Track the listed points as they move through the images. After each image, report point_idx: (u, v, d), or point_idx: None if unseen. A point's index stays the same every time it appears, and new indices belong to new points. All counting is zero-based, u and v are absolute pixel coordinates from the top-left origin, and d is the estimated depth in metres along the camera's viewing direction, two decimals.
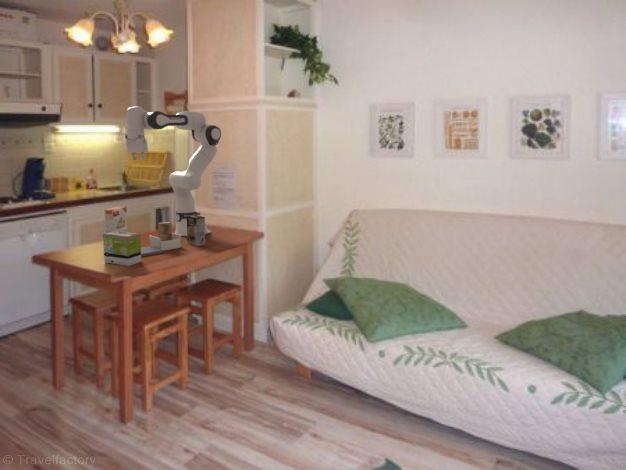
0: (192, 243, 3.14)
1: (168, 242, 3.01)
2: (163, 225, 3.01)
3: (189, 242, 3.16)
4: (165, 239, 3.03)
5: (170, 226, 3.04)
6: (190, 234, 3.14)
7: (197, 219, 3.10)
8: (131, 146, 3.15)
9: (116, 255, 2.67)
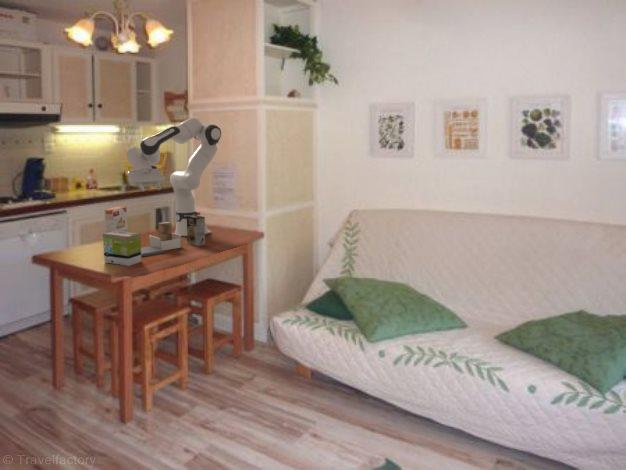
0: (192, 243, 3.14)
1: (168, 242, 3.01)
2: (163, 225, 3.01)
3: (189, 242, 3.16)
4: (165, 239, 3.03)
5: (170, 226, 3.04)
6: (190, 233, 3.14)
7: (197, 219, 3.10)
8: None
9: (116, 255, 2.67)
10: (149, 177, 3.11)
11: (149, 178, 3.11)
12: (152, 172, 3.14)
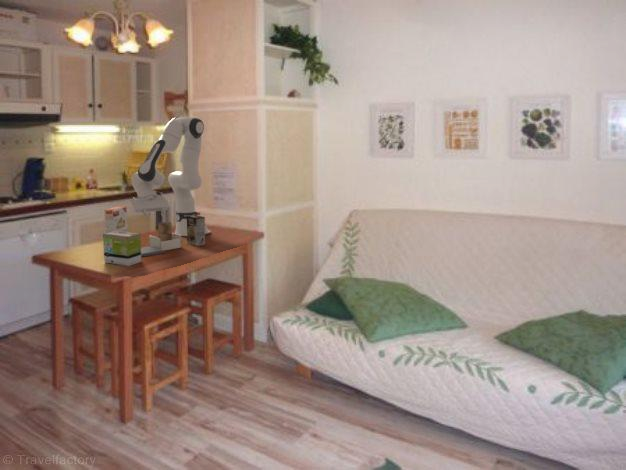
0: (192, 243, 3.14)
1: (168, 242, 3.01)
2: (163, 225, 3.01)
3: (189, 242, 3.16)
4: (165, 239, 3.03)
5: (170, 226, 3.04)
6: (190, 234, 3.14)
7: (197, 219, 3.10)
8: None
9: (116, 255, 2.67)
10: (154, 203, 3.11)
11: (154, 205, 3.10)
12: (157, 198, 3.14)
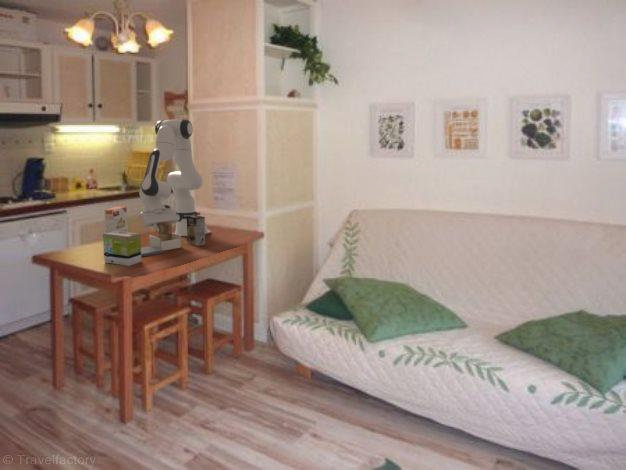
0: (192, 243, 3.14)
1: (168, 242, 3.01)
2: (163, 225, 3.01)
3: (189, 242, 3.16)
4: (165, 239, 3.03)
5: (170, 226, 3.04)
6: (190, 234, 3.14)
7: (197, 219, 3.10)
8: None
9: (116, 255, 2.67)
10: (163, 217, 3.06)
11: (163, 219, 3.06)
12: (165, 212, 3.09)
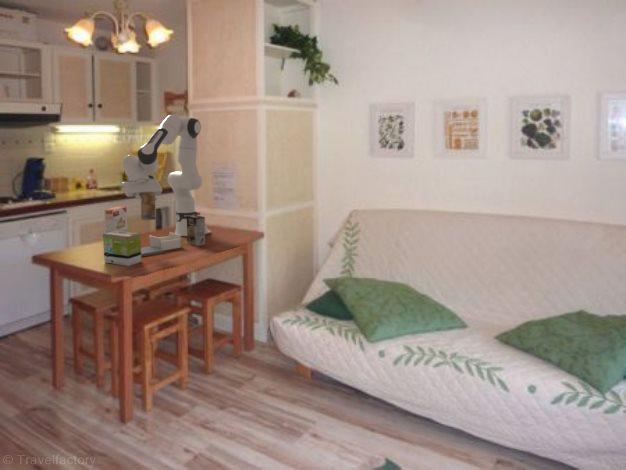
0: (192, 243, 3.14)
1: (168, 242, 3.01)
2: (146, 195, 2.88)
3: (189, 242, 3.16)
4: (148, 210, 2.90)
5: (153, 196, 2.91)
6: (190, 234, 3.14)
7: (197, 219, 3.10)
8: None
9: (116, 255, 2.67)
10: (146, 187, 2.93)
11: (146, 189, 2.92)
12: (149, 182, 2.96)
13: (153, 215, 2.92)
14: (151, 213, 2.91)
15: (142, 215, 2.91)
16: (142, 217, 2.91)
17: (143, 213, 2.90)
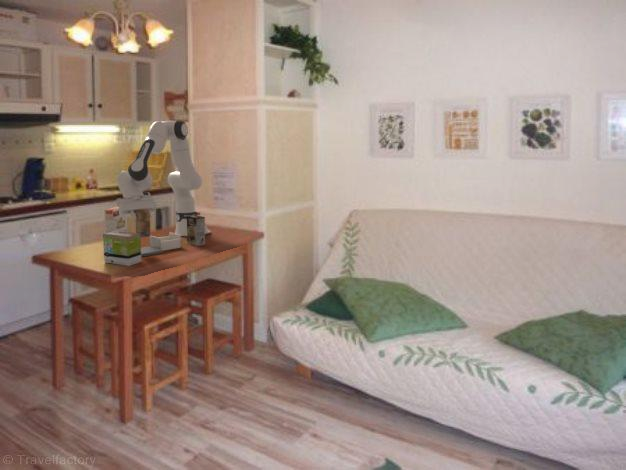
0: (192, 243, 3.14)
1: (168, 242, 3.01)
2: (140, 212, 2.86)
3: (189, 242, 3.16)
4: (142, 227, 2.88)
5: (148, 213, 2.89)
6: (190, 234, 3.14)
7: (197, 219, 3.10)
8: None
9: (116, 255, 2.67)
10: (140, 204, 2.91)
11: (141, 206, 2.91)
12: (144, 199, 2.94)
13: (148, 232, 2.91)
14: (145, 231, 2.90)
15: (137, 232, 2.89)
16: None
17: (138, 230, 2.88)
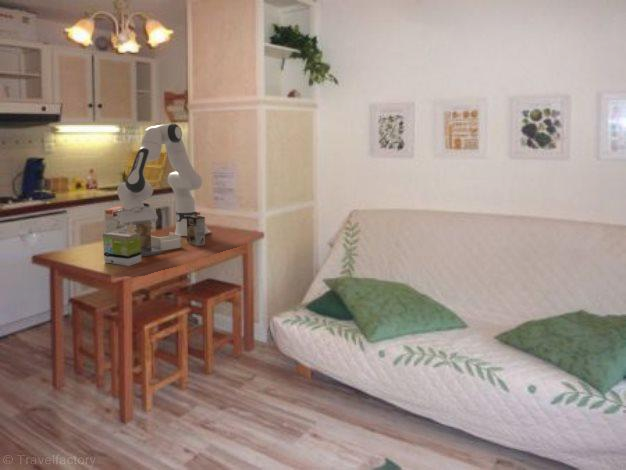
0: (192, 243, 3.14)
1: (168, 242, 3.01)
2: (141, 226, 2.88)
3: (189, 242, 3.16)
4: (143, 242, 2.90)
5: (149, 227, 2.91)
6: (190, 234, 3.14)
7: (197, 219, 3.10)
8: None
9: (116, 255, 2.67)
10: (141, 216, 2.92)
11: (141, 218, 2.92)
12: (144, 210, 2.96)
13: (149, 246, 2.92)
14: (146, 245, 2.91)
15: None
16: None
17: None
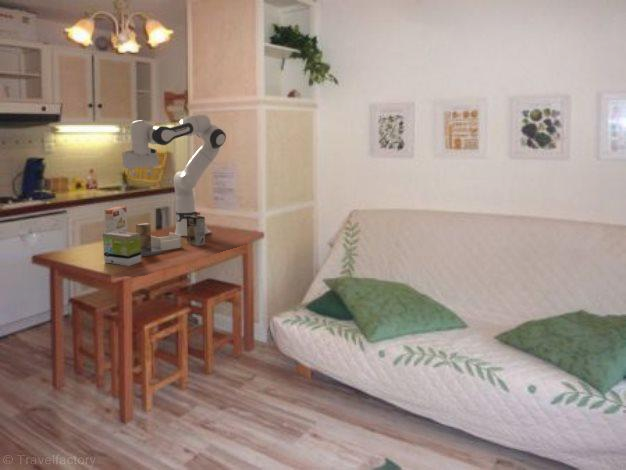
0: (192, 243, 3.14)
1: (168, 242, 3.01)
2: (141, 226, 2.88)
3: (189, 242, 3.16)
4: (143, 242, 2.90)
5: (149, 227, 2.91)
6: (190, 234, 3.14)
7: (197, 219, 3.10)
8: None
9: (116, 255, 2.67)
10: (144, 162, 3.03)
11: (143, 164, 3.03)
12: (149, 156, 3.04)
13: (149, 246, 2.92)
14: (146, 245, 2.91)
15: None
16: None
17: None
